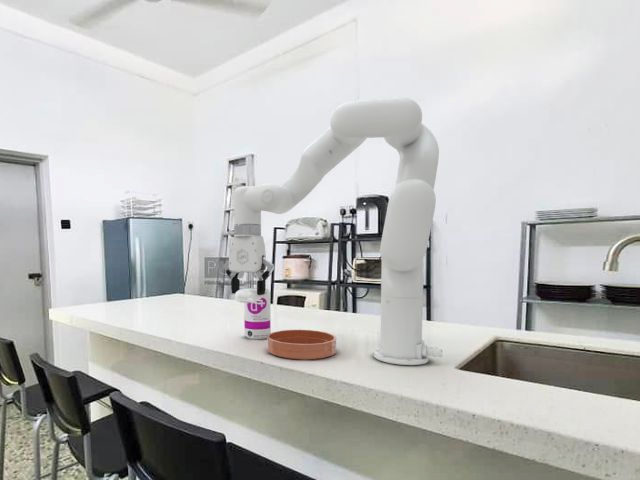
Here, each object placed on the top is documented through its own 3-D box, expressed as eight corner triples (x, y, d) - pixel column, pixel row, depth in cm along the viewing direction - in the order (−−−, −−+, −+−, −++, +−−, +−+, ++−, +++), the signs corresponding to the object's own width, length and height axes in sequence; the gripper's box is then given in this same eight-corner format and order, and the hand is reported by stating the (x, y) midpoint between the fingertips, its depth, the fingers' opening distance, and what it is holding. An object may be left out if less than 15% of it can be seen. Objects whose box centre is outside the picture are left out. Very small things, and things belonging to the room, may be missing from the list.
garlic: (264, 300, 114) (264, 287, 114) (261, 304, 107) (261, 290, 107) (237, 299, 115) (237, 286, 115) (232, 303, 109) (233, 289, 108)
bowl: (345, 348, 108) (345, 333, 108) (320, 364, 93) (320, 347, 92) (286, 340, 118) (286, 327, 118) (254, 354, 103) (254, 339, 102)
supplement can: (268, 340, 118) (268, 290, 117) (242, 339, 120) (241, 290, 119) (272, 334, 126) (271, 288, 125) (247, 333, 128) (246, 288, 127)
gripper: (214, 232, 112) (215, 293, 113) (268, 230, 102) (268, 297, 103) (229, 233, 118) (230, 291, 119) (281, 231, 108) (281, 294, 110)
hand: (248, 293), depth 111 cm, fingers closed on garlic, 7 cm apart
